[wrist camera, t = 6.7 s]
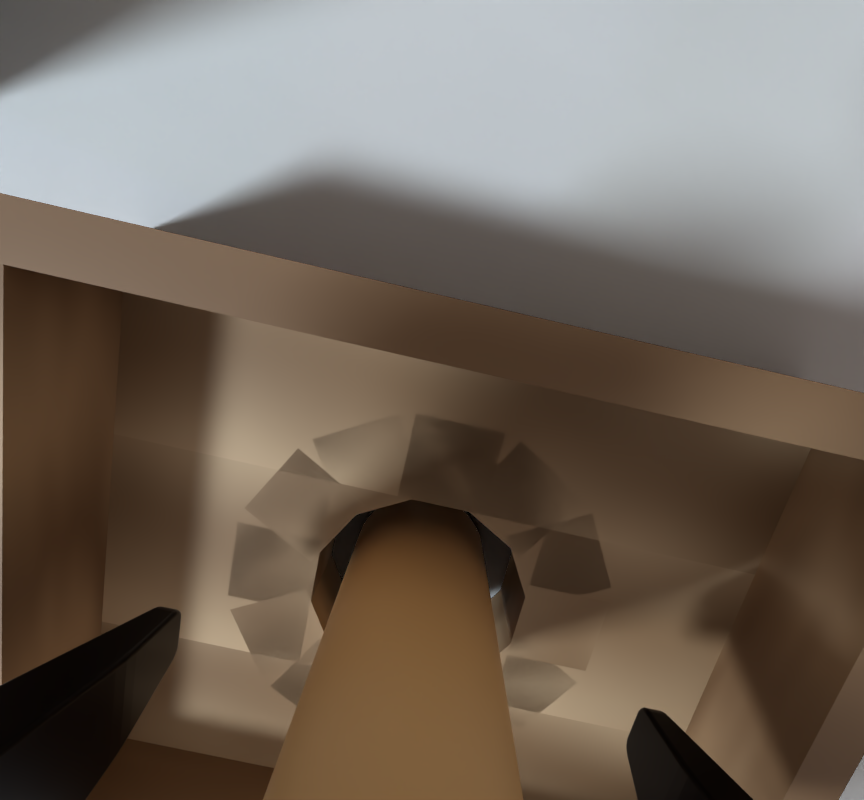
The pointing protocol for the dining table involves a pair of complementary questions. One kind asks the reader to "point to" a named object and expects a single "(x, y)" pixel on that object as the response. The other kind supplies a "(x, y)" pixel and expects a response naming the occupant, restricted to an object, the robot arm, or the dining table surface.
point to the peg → (405, 674)
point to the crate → (423, 481)
